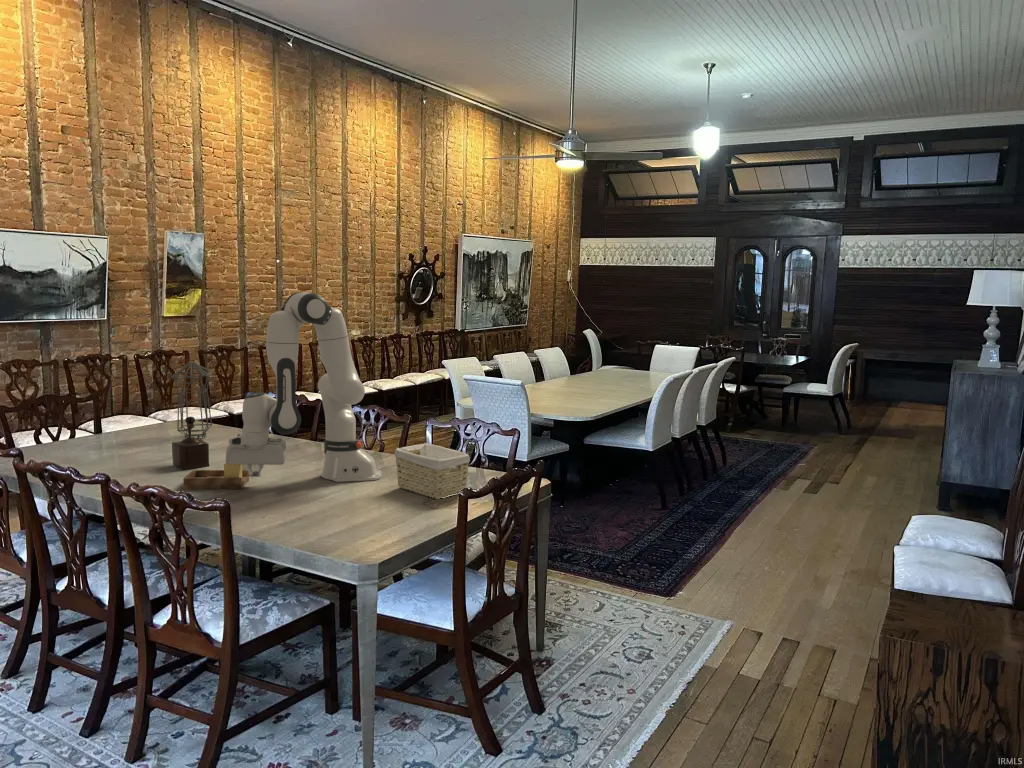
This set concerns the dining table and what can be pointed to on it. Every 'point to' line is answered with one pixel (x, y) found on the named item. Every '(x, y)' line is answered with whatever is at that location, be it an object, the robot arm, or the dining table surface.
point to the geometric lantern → (193, 392)
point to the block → (232, 471)
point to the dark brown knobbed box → (190, 450)
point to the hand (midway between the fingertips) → (256, 476)
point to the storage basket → (431, 470)
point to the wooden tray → (214, 480)
